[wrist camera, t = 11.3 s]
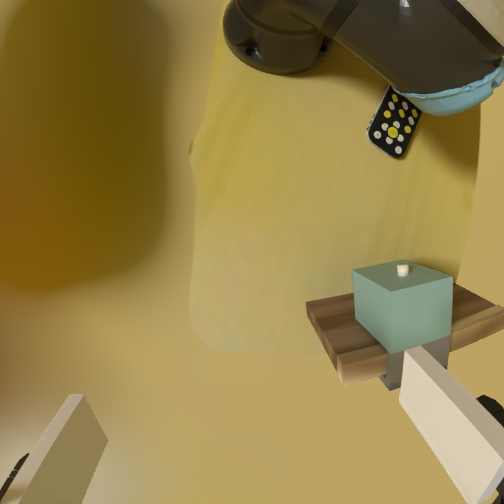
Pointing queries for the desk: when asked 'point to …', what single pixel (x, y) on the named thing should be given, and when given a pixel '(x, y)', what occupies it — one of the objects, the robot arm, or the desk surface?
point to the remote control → (393, 123)
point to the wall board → (373, 352)
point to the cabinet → (404, 311)
